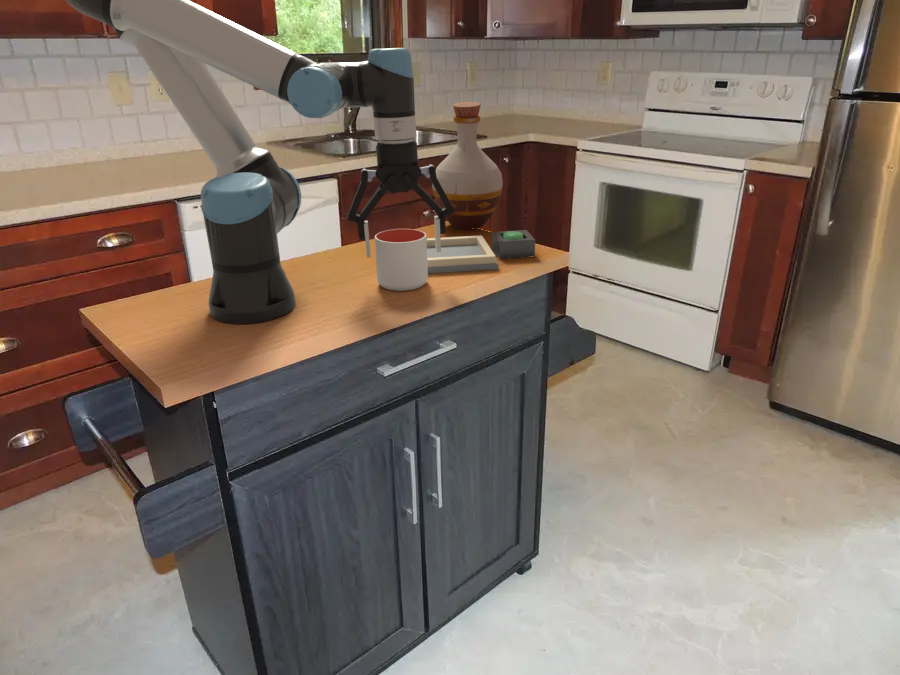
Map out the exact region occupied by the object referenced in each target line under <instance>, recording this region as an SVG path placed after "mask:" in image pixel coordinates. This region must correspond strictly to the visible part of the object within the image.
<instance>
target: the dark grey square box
mask: <svg viewBox="0 0 900 675" xmlns="http://www.w3.org/2000/svg"><path fill="white" fill-rule="evenodd" d="M510 231H511V230H503V231H501V230H499V231H491V233H492V234H491V250H492V251H493V253H494V254H495V256H496V257H497V258H499V259H498V260H509V259H508V258H514V259H522V258H521V257H529V256H530V257H531V256H536V255H535V254H536V239H535V238H534V236H533V235H532V234H531V233H530V232H529V231H528V230H527V229H523V230H518V229H517V230H515V231H516V232H521V233H523V239H505V240H504V239H503V234H504V233H505V232H510ZM531 258H532V257H531Z"/></svg>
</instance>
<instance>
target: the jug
mask: <svg viewBox="0 0 900 675" xmlns="http://www.w3.org/2000/svg"><path fill="white" fill-rule="evenodd" d="M481 106H482V104H481V103H480V102H475V101H464V102H463V101H462V102H461V101H460V102H456V103H453V104H452V107H453V111H454V115H455V116H453V121H454V123H455V125H456V132H457V144H456V146H455V147H454V148H453V150H452V151H451V152H449V154H448V155H447V156H446V157H445V158H444V160H442V161H441V162H440V163H439V164H438V166H436V167H435V170H436V176H437V179H438V181H439V183H440V185H441V187H442V188H443V190H444V192H445V194H446V196H447V197H448V199H449V201H450V203H451V205H452V206H453V208H454V213H453V214H450V215H447V216H446V218H445V220H446V221H447V222H448V223H449V224H450V225H451V227H452V228H454V229H456V230H457V229H458V230H477V229H480V228H483V226H484V225H485V224H486V223H487V222H488V221H489V219H490V218H491V216H492V215H493V214H494V212H495V211H496V209H497V208H498V205H499V202H500V199H501V195H502V191H503V185H504V184H503V173H502V172H501V170H500V169H499V167H498V165H497V164H496V163H495V162H494V161H493V160H492V159H491V158H490V157H489V156H488V155H487V153H485V152H484V151H483V149H481V148H480V147H479V145H478V143H477V134H478V133H477V131H478V127H479V123H480V122H481V116H480V115H479V114H480V110H481ZM431 186H432V187H431V188H432V193H433V196H434V201H435V202H436V203H437V204H438V205H439V206H440V207H441V208H442V209H443V208H446V207H445V205H444V203H443V202H442V200H441V198H440V196H439V194H438V193H437V191H436V189H435V187H434V185H433V184H432V183H431ZM472 228H473V229H472ZM474 228H475V229H474Z"/></svg>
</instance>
